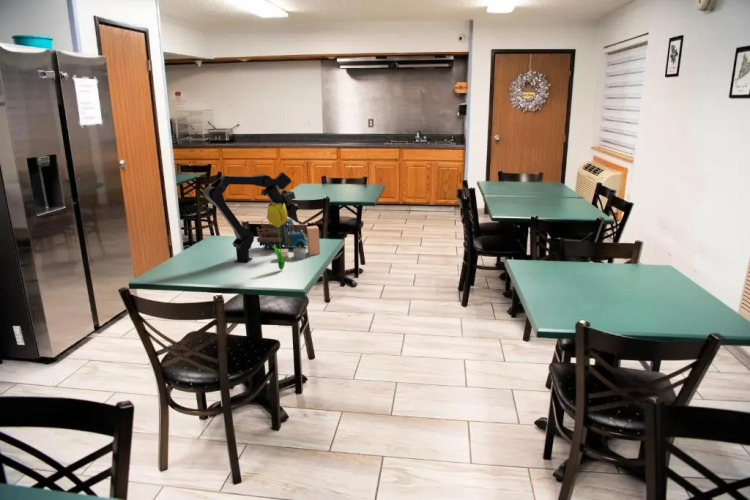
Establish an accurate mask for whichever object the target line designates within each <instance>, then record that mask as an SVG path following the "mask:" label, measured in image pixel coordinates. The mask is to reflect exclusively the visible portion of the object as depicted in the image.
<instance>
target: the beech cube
mask: <svg viewBox="0 0 750 500" xmlns="http://www.w3.org/2000/svg"><path fill="white" fill-rule="evenodd" d="M278 249H279V251H280V248H278ZM280 254H281V256H282V260H284V259H285V258H286V257H287V256H288V257H287V258H286V260H285V262H286V261H287V262H288V261H289V260H290V259H289V258H290V255H289V248H281V253H280Z"/></svg>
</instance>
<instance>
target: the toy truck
mask: <svg viewBox="0 0 750 500" xmlns="http://www.w3.org/2000/svg"><path fill="white" fill-rule="evenodd" d="M260 227H261V228H259V227H258V226H257V227H256V231H257V232H256V234H257V235H258V237H257V238H256V241H257V243H259V247H264V250H265V251H271V250H272V249H273V247H272V246H275V247H277V248H278V249H280V244H281V249H290V248H292V247H294V248H305V247H308V244H307V234H306V233H305V232H304V231H303V229H301V230H300V231H295V230H294V224H293V219H291V218H288V219H287V221H286V222H285V223H284V224H282V225H281V226H280V227H279V232H280V240H279V232H278V227H276V226H274V225H273V224H271V223H270V222H269V223H268V225H265V224H264V223H263V222H262V223H261V225H260Z"/></svg>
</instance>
